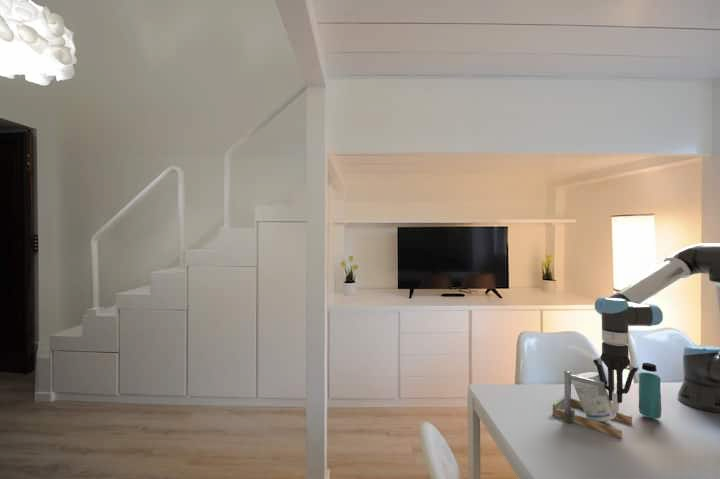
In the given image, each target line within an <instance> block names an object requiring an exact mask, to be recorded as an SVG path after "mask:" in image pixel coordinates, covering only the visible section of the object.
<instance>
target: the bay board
mask: <svg viewBox="0 0 720 479" xmlns="http://www.w3.org/2000/svg"><path fill="white" fill-rule="evenodd" d="M572 406H573V407H575V408H579V409H582V410H584V409H583V407H582V405H581V402H580V400H579V399H576V398H572V397H571V407H572ZM552 416H555V417H556V418H557V417H558V418H560V419H564V395H563V396H561V397H560V398H559V399H558V400H555V402H554V403H553V404H552ZM613 419H614V420H617V421H620V422H622V423H627V424H630V425H632V424H633V416H632V415H629V414H625V413H623V412H619V411H618V412H617V413H616V417H615V418H613ZM571 423H575V424H578V425H581V426H584V427H586V428H589V429H592V430H595V431H598V432H601V433H604V434H607V435H610V436H611V437H612V436H613V437H616V438H618V439H623V429H620V428H617V427H614V426H611V425H608V424H606V423H602V422H601V421H600V422H597V421H593V420H590V419H588V418H587V417H584V416H580V415H578V414H576V412H575V409H572V408H571Z"/></svg>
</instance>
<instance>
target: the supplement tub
mask: <svg viewBox="0 0 720 479" xmlns="http://www.w3.org/2000/svg"><path fill="white" fill-rule="evenodd" d="M575 375H576V376H580V377H584V378H588V379H592V380H596V381H600V382H601V380H600V377H599V373H598V371H590V372H588V371H587V372H582V373H578V374H575ZM571 383H572V385H573V387H574V390H575V391H576V394H577V397H578V400H580V402H581V405H582V407H583V409H582V410H583V411H584V412H583V413H584V414H585V416H586V417H585V418H587V419H590V420H593V421H596V422H600V423H601V422H607V421H610V420H613V419H614V418H615V417H616V412H612V401H610V400H609V392H608V390H607V389H605V395H604V396H600V395H598V387H597V386H594V385H590V384H586V383H582V382H579V381H575V380H571Z"/></svg>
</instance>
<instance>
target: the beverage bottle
mask: <svg viewBox="0 0 720 479" xmlns="http://www.w3.org/2000/svg"><path fill="white" fill-rule="evenodd" d="M641 369H642V370H643V371H641V372H639V373H638V400H637V401H638V411H639V414H641V415H642V416H644V417H648V418H649V419H650V418H651V419H657V420H658V419H661V417H662V409H663V407H662V396H661V395H662V394H661V393H662V392H661V377H660V376H659V375H658V374H657V371H658V370H657V365H656V364H654V363H650V362H642V365H641ZM654 372H656V373H654Z"/></svg>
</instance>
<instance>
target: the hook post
mask: <svg viewBox="0 0 720 479" xmlns="http://www.w3.org/2000/svg"><path fill="white" fill-rule="evenodd" d="M563 373H564V380H563V381H564V383H563V384H564V388H563V389H564V392H563V393H564V395H563V396H564V409H563V411H564V423H565V424H571V423H572V421H571V409H572V405H571V398H572V380H575V381H579V382H582V383H586V384H590V385H594V386H597V387H598V395H600V396H604V395H605V383H604V382H600V381H596V380H592V379H588V378H584V377H580V376H576V375H577V374H572V372H571V371H570V370H564V372H563Z"/></svg>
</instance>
